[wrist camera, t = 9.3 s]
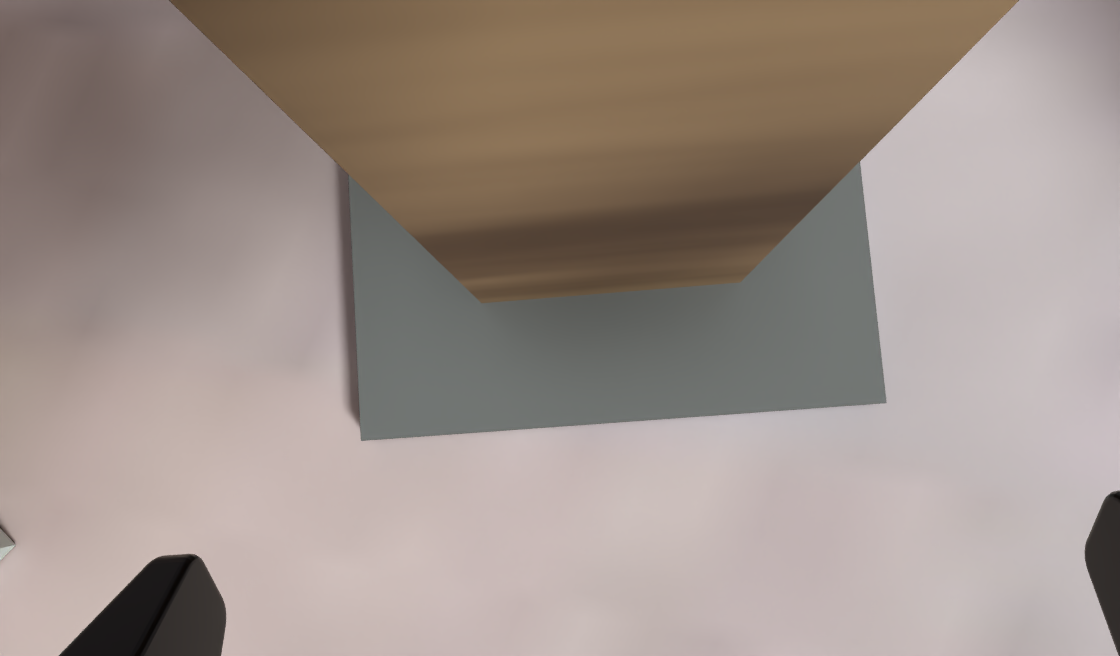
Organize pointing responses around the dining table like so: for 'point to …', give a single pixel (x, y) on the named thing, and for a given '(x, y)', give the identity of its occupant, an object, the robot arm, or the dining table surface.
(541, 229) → the walnut block
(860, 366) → the slate coaster
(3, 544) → the pocket board
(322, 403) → the dining table surface
